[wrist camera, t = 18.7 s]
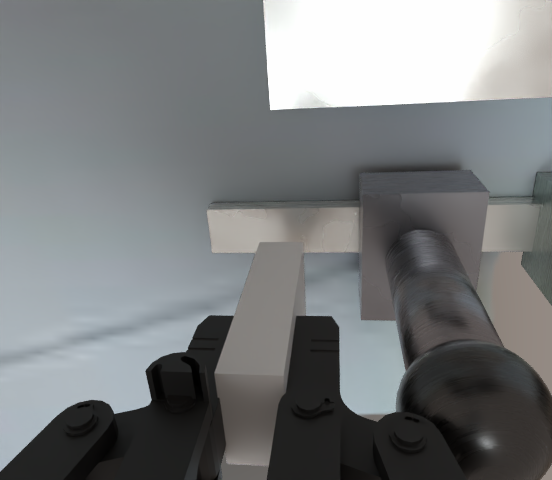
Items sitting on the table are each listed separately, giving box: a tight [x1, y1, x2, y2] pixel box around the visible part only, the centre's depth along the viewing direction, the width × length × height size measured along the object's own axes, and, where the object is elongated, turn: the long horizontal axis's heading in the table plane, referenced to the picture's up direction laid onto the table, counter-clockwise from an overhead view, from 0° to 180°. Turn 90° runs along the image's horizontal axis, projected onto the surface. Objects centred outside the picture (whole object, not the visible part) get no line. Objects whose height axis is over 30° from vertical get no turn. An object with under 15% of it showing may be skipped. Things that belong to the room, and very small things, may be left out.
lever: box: [359, 170, 552, 480], centre depth 14 cm, size 5×4×11 cm
